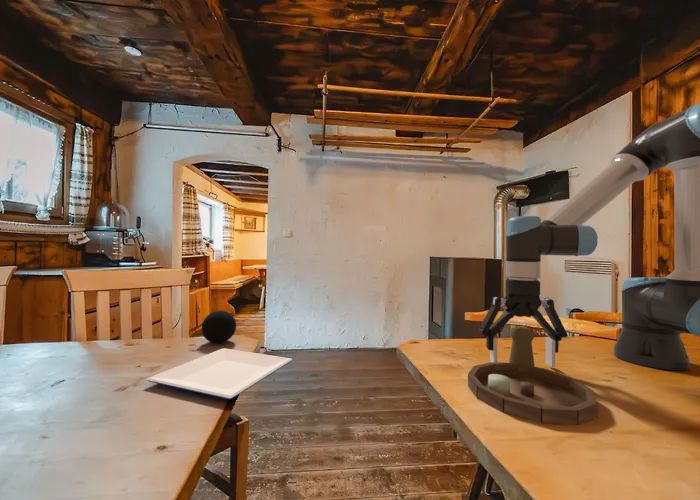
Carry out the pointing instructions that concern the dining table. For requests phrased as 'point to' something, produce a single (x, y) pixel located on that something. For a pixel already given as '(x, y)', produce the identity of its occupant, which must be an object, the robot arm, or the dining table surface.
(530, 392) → the tray
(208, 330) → the decorative ball
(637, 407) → the dining table surface
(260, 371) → the plate
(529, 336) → the olive green knobbed peg
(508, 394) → the pale beige rounded lump
